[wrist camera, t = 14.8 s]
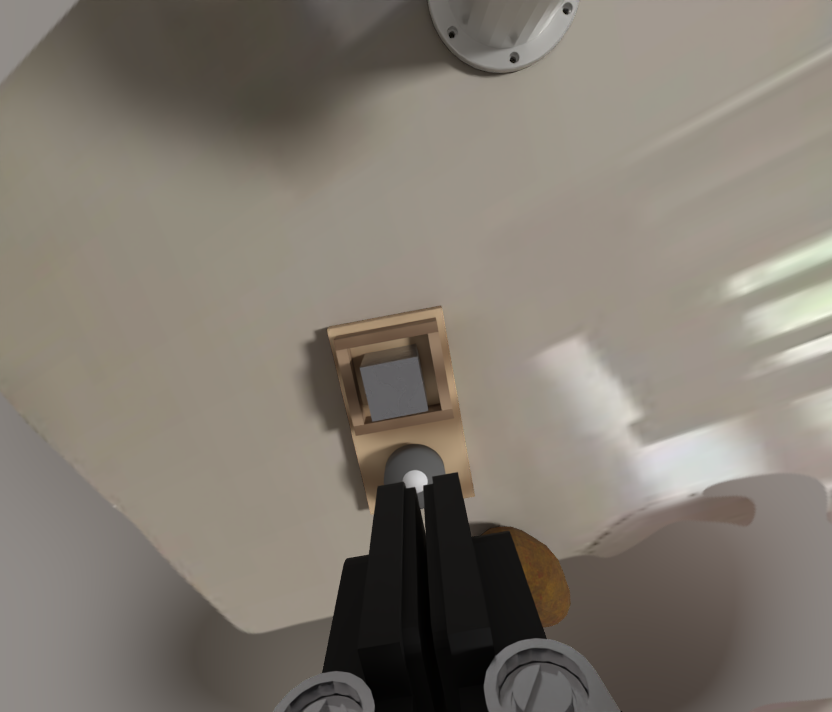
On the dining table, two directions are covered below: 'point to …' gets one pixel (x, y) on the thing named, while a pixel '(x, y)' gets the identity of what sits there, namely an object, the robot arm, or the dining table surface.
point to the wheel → (413, 467)
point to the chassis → (425, 428)
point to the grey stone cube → (394, 382)
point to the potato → (541, 576)
